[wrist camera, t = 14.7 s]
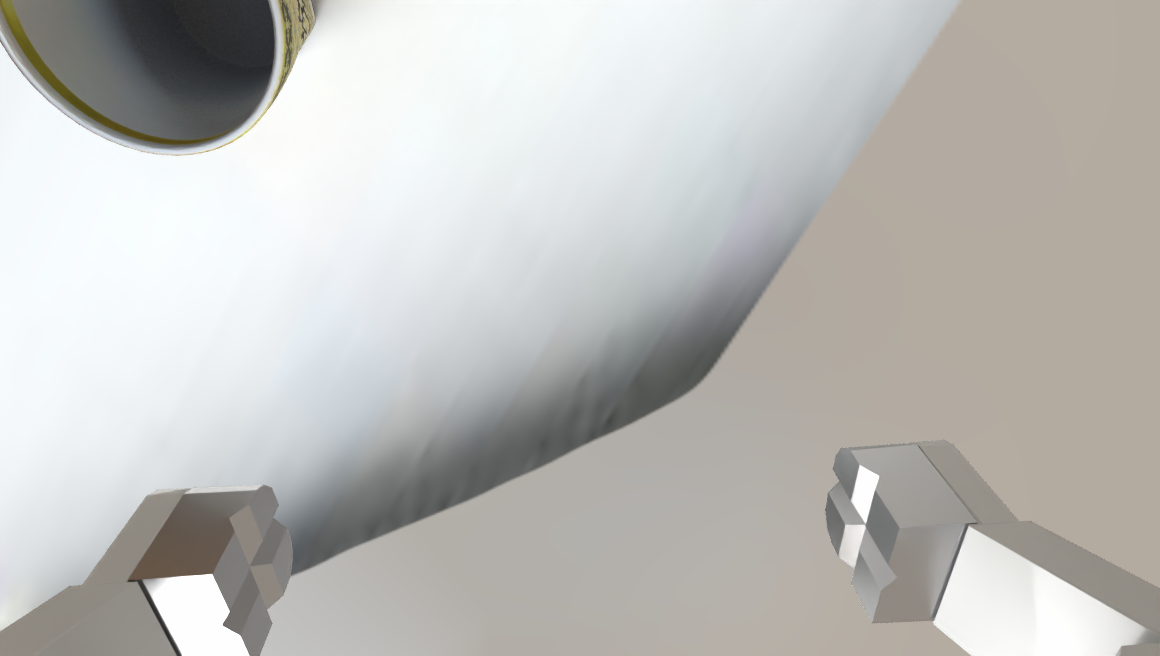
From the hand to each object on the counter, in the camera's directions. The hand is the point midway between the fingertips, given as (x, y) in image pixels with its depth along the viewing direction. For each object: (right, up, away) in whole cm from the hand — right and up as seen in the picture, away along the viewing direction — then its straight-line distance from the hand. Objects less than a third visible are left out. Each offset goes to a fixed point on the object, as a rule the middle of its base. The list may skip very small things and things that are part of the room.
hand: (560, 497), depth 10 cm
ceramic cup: (-16, +20, +22) cm, 33 cm away
